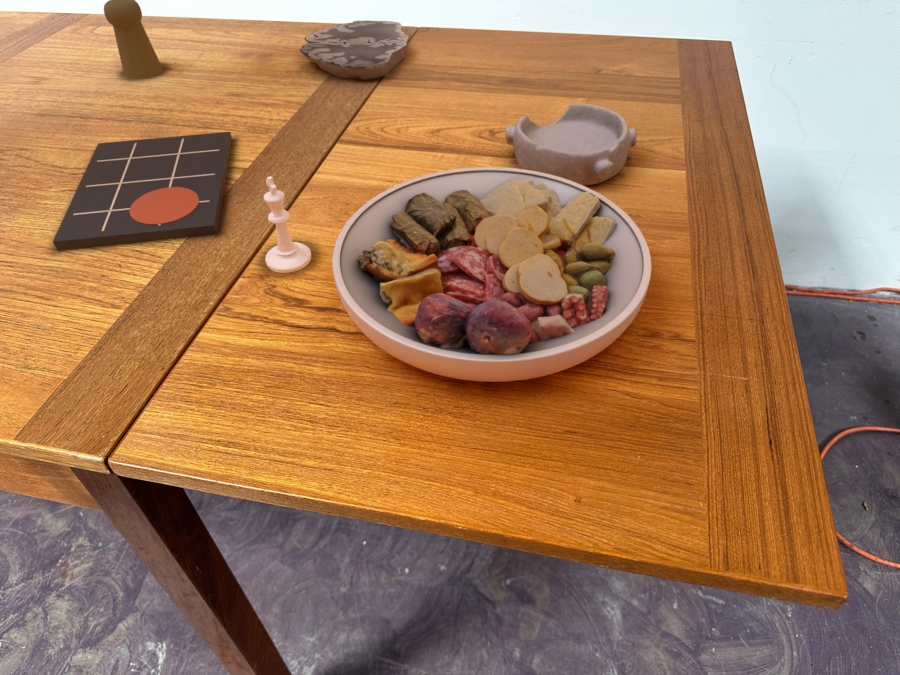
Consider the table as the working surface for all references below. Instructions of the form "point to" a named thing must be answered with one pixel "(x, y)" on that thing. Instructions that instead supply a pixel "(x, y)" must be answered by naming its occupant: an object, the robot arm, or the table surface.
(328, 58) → the brain slice
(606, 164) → the dish
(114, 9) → the brown knobbed peg
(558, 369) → the bowl
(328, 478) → the table surface
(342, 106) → the table surface
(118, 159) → the board
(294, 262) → the chess piece
